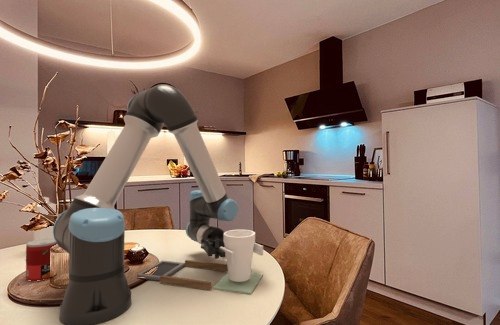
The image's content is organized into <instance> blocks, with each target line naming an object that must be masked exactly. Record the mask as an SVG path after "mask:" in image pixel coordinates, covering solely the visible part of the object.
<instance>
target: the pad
mask: <svg viewBox="0 0 500 325" xmlns="http://www.w3.org/2000/svg"><path fill="white" fill-rule="evenodd" d="M262 276H263V277H264V274H263V273H257V272H256V273H254V272H251V273H250V279H248V280H246V281H242V282H236V281H232V280H230V279H229V276H228V272H227V273H226V274H225V275H224V276H223V277H221V279H220V280H219V281H218V282H217V283H216V284H215V285H214V286H213V288H212V289H213V290H214V291H215V290H217V291H222V292H230V293H237V294H245V295H251V296H252V295H253V292H254V291H255V289H256V288H257V286H258V285H259V283H260V281H261V280H262V278H263V277H262Z"/></svg>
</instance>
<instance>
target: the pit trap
mask: <svg viewBox="0 0 500 325" xmlns="http://www.w3.org/2000/svg"><path fill="white" fill-rule="evenodd" d="M157 266H158V268H157V270H156V271H155V272H154V273H153V274H152V275H148V274H145V273H147V272H149V271H150V270H151V269H153V268H155V267H157ZM183 268H186V267H185V262H178V261H170V260H161V261H159V262H157V263H155V264H153V265H151V266H150V267H148V268H146V269H145V270H143V271H140V272H139V273H137V274H136V278H137V277H146V281H154V282H158V283H160V276H162V275H164V276H172V277H173V275H175V274H176V273H177V272H179V271H181V270H182V269H183Z"/></svg>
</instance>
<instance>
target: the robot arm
mask: <svg viewBox="0 0 500 325" xmlns="http://www.w3.org/2000/svg"><path fill="white" fill-rule="evenodd" d="M123 121H124V123H125V125H124V126H123V128H122V130H121V132H120V133H119V135H118V136H117V138H116V140H115V141H114V143H113V145H112V146H111V148H110V150H109V151H108V153H107V155H106V156H105V158H104V160H103V161H102V163H101V165H100V166H99V168H98V170H97V171H96V173H95V175H94V176H93V179H92V180H91V181H90V183H89V185H88V187H86V190H85V192H84V193H82V194H79V195H77V196H75V197H74V198H73V200H72V201H71V203H70V205H69V206H68V207H67V209H66V210H64V211H63V212H61V213H60V215H57V219H56V221H55V223H54V226H53V236H54V239H55V241H56V243H57V244H58V247H60V249H62V250H64V251H65V252H67V253H68V283H67V286H66V290H65V292H64V297H63V300H62V301H61V302H60V305H59V313H58V315H59V321H60V322H61V323H62V324H65V325H96V324H100V323H104V322H106V321H109V320H112V319H114V318H116V317H118V316H120V315H121V314H123V313H125V312H126V311H127V310H128V309H129V308H130V307H131V304H132V303H133V302H132V298H133V297H132V290H131V288H130V286H129V283H128V280H127V277H126V274H125V236H126V235H125V229H126V223H125V216H124V214H123V213H122V212H121V211H120V210H118V209H116V208H115V205H116V203H117V201H118V199H119V197H120V195H121V194H122V192H123V190H124V188H125V186H126V185H127V183H128V181H129V179H130V177H131V175H132V174H133V172H134V170H135V168H136V167H137V165H138V163H139V161H140V159H141V157H142V155H143V154H144V152H145V150H146V148H147V146H149V142H150V141H151V139H153V138H158V136H159V134H160V133H161V131H162V129H163V127H164V126H165V127H166V128H167V130H168V133H170V134H173V135H174V138H175V140H176V142H177V145H178V147H179V149H180V150H181V152H182V154H183V157H184V159H185V161H186V163H187V165H188V167H189V169H190V171H191V173H192V175H193V176H192V177H193V178H194V180H195V182H196V184H197V186H198V188H199V189H197V190H196V189H195V190H192V191H190V193H189V200H188V202H189V222H188V223H187V225H186V227H185V234H186V236H187V237H188V238H189V239H191V240H192V241H193V242H196V243H198V244H199V245H200V249H202V250H203V251H204V252H205V254H206V255H207V257H210V258H211V257H213V256H214V259H217V260H218V259H220V258H222V259H224V260H226V262H227V261H229V262H231V263H232V262H234V252H232V251H230V250H228V249H226V248H225V245H224V242H223V234H224V232H225V231H224V230H223V229H222V228H219V227H218V226H217V227H216V226H215V225H212V224H210V222H211V221H210V220H211V219H213V220H217V221H221V222H231V221H234V220H235V219H236V218H237V216H238V214H239V204H238V203H237V201H236V200H235V199H232V198H229V196H228V194H227V192H226V189H225V188H224V184H223V182H222V180H221V178H220V176H219V173H218V171H217V169H216V167H215V164H214V161H213V160H212V157H211V155H210V153H209V149H208V147H207V146H206V143H205V142H204V139H203V137H202V133H201V131H200V130H199V127H198V125H197V124H198V121H199V119H198V116H197V115H196V112H195V110H194V108H193V106H192V104H191V103H190V101H189V100H188V98H187V97H186V95H184V94H183V93H182V91H181V90H179V89H178V88H177V87H174V86H173V85H169V84H165V83H163V84H162V83H161V84H157V85H155V86H153V87H152V86H151V87H150V88H148V89H146V90H142V91H140V92H137V93H136V94H134V95H133V96H132V97H131V98H130V99H129V101H128V102H127V105H126V113H125V115H124V116H123ZM254 253H255V254H256V255H259V256H264V245H261V244H260V243H257V239H256V238H255V243H254V249H253V254H254Z"/></svg>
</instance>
